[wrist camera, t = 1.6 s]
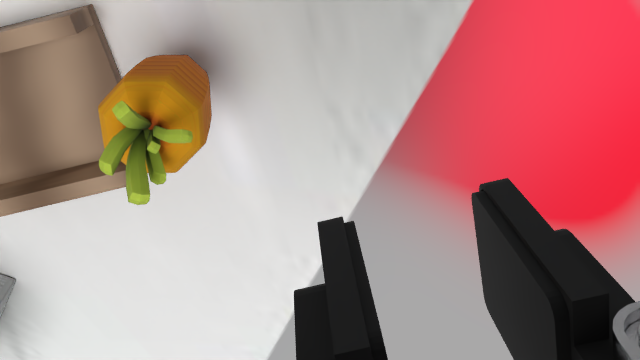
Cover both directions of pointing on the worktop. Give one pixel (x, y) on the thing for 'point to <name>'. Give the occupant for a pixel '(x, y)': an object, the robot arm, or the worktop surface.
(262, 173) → the worktop surface
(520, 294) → the robot arm
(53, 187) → the walnut U-rest
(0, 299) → the skincare box
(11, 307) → the worktop surface
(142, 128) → the carrot
